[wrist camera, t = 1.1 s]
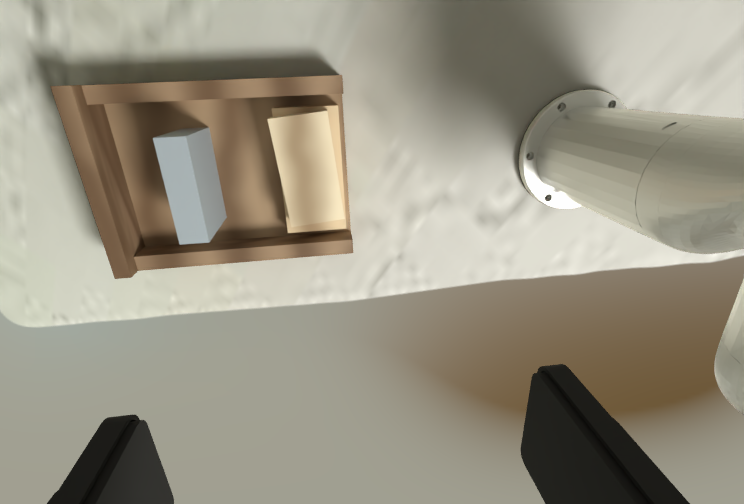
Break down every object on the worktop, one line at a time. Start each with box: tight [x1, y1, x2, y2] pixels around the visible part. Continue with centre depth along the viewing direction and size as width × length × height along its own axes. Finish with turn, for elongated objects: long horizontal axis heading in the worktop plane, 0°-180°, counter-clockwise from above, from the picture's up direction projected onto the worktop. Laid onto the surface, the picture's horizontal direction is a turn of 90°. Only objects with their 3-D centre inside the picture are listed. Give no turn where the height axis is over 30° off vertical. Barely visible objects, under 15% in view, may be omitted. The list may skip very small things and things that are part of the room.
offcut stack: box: [267, 104, 346, 233], centre depth 38 cm, size 6×12×4 cm, turn 2°
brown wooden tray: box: [50, 75, 353, 279], centre depth 38 cm, size 23×17×5 cm
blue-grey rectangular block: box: [153, 127, 227, 245], centre depth 36 cm, size 2×9×7 cm, turn 2°
